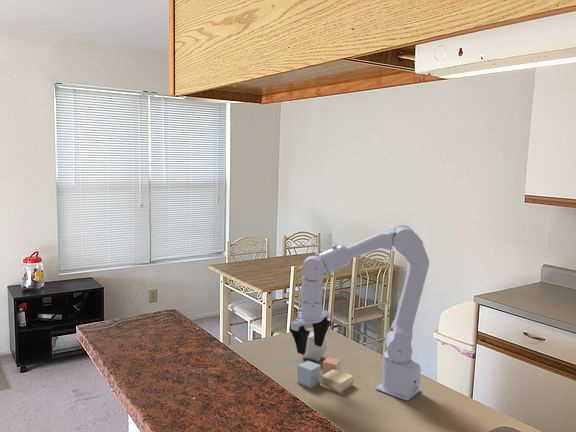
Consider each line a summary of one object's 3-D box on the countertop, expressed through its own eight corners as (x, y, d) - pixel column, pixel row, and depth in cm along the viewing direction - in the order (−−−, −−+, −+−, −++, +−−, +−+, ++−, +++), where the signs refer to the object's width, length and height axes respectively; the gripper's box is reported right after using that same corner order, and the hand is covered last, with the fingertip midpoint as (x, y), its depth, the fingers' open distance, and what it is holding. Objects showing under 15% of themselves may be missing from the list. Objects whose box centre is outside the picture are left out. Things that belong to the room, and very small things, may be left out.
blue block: (320, 382, 133) (320, 365, 132) (310, 388, 130) (310, 370, 129) (307, 377, 136) (307, 360, 135) (297, 382, 132) (297, 365, 132)
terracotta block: (339, 372, 140) (340, 359, 139) (335, 378, 136) (336, 364, 136) (326, 370, 141) (327, 357, 141) (322, 375, 138) (322, 362, 137)
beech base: (352, 386, 132) (353, 375, 132) (340, 394, 127) (340, 383, 127) (333, 379, 136) (333, 368, 136) (320, 386, 131) (320, 376, 131)
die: (330, 358, 151) (319, 329, 155) (331, 354, 143) (319, 324, 147) (306, 367, 151) (295, 338, 155) (305, 364, 143) (294, 333, 147)
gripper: (316, 293, 138) (314, 338, 140) (282, 303, 127) (281, 352, 129) (336, 298, 134) (334, 345, 135) (303, 309, 123) (301, 360, 124)
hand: (309, 349), depth 132 cm, fingers open, 7 cm apart
